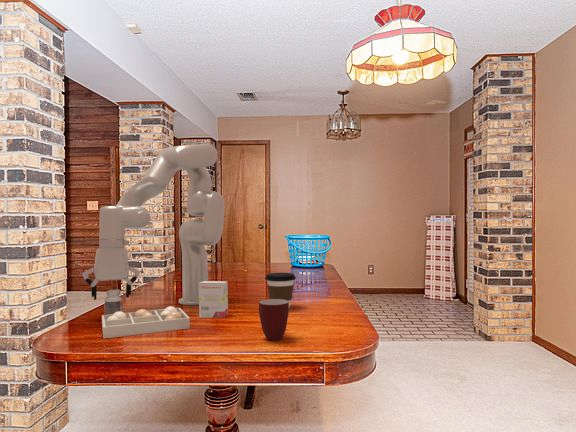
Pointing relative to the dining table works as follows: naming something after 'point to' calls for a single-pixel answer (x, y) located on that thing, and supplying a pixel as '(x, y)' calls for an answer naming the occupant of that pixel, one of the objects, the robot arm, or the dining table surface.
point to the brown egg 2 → (173, 315)
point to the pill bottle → (113, 302)
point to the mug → (273, 317)
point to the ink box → (213, 299)
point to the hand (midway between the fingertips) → (111, 298)
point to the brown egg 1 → (142, 313)
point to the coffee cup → (280, 285)
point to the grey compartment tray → (143, 324)
